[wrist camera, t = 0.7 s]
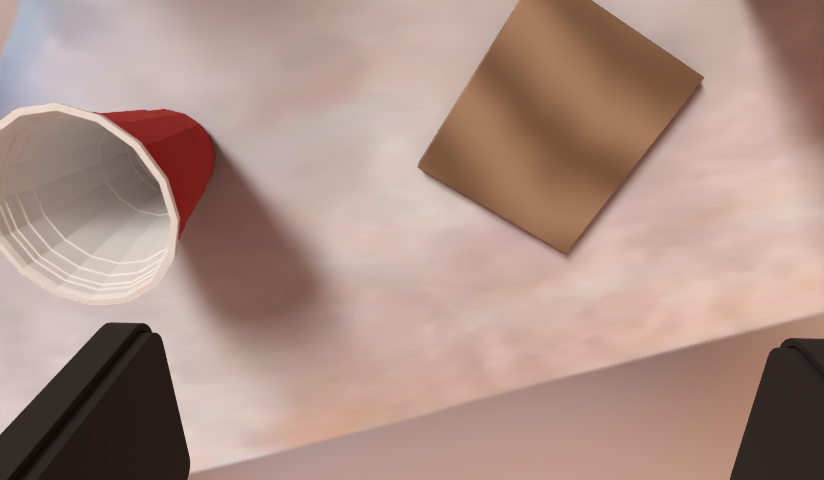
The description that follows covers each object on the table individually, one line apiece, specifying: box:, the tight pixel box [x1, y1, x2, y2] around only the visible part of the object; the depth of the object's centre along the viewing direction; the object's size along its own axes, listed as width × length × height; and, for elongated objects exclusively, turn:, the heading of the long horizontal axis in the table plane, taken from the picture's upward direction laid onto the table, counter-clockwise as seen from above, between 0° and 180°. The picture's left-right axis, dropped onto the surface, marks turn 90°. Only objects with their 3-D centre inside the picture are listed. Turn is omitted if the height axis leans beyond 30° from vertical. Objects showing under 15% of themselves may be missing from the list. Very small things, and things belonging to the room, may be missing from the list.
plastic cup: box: [0, 103, 215, 306], centre depth 35 cm, size 11×11×12 cm
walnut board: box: [418, 0, 704, 253], centre depth 38 cm, size 14×12×1 cm
